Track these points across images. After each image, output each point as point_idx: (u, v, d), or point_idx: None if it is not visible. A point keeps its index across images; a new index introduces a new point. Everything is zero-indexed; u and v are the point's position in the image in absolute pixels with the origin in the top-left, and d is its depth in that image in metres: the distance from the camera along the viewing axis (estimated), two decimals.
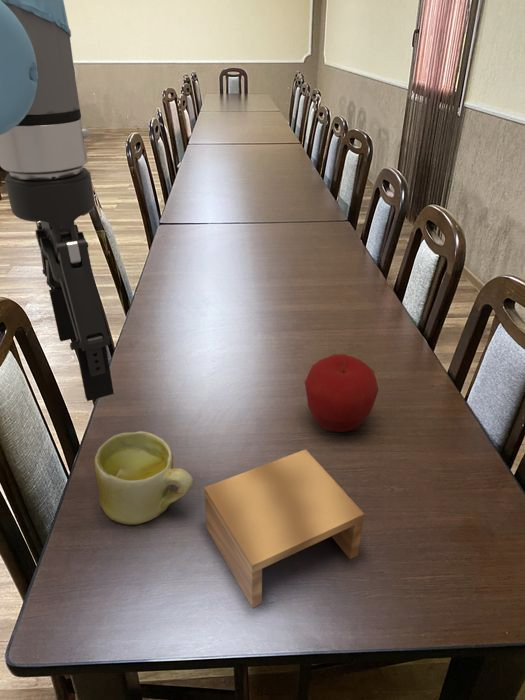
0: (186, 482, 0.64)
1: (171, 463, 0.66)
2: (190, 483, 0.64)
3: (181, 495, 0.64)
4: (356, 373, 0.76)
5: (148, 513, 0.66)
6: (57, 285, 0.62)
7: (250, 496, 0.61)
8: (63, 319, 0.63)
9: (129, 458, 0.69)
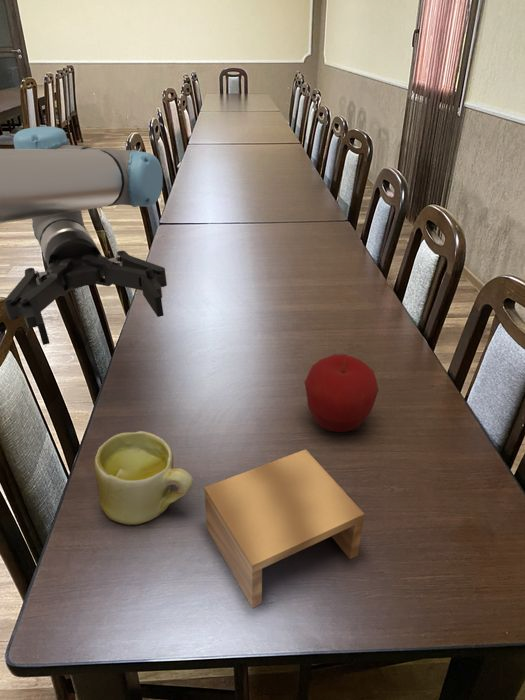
0: (186, 482, 0.64)
1: (171, 463, 0.66)
2: (190, 483, 0.64)
3: (181, 495, 0.64)
4: (356, 373, 0.76)
5: (148, 513, 0.66)
6: None
7: (250, 496, 0.61)
8: None
9: (129, 458, 0.69)
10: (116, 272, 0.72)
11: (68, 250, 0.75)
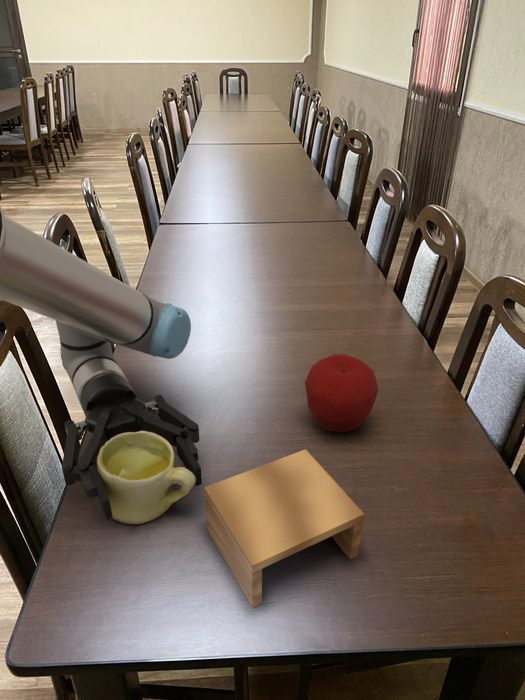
0: (189, 481, 0.64)
1: (173, 462, 0.66)
2: (193, 482, 0.65)
3: (184, 494, 0.64)
4: (356, 373, 0.76)
5: (151, 512, 0.66)
6: (89, 470, 0.65)
7: (250, 496, 0.61)
8: None
9: (131, 458, 0.69)
10: (151, 426, 0.72)
11: (106, 396, 0.75)
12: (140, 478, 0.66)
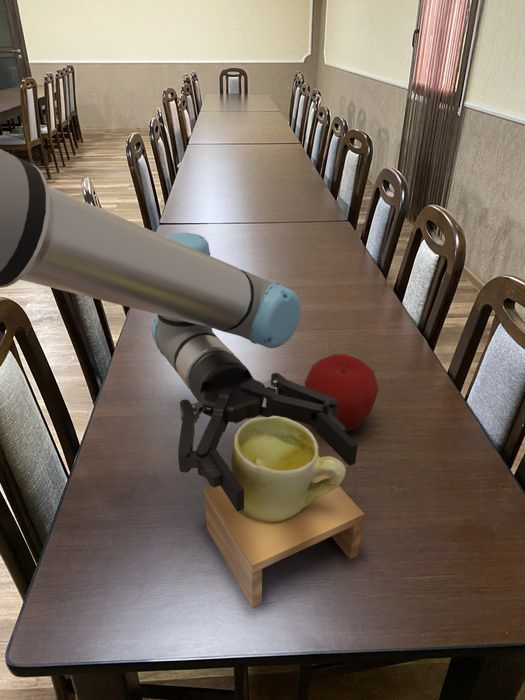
0: (341, 472, 0.56)
1: (318, 451, 0.58)
2: (344, 473, 0.56)
3: (334, 487, 0.56)
4: (356, 373, 0.76)
5: (293, 508, 0.57)
6: None
7: None
8: None
9: (263, 447, 0.60)
10: (283, 405, 0.64)
11: (222, 376, 0.66)
12: (280, 469, 0.57)
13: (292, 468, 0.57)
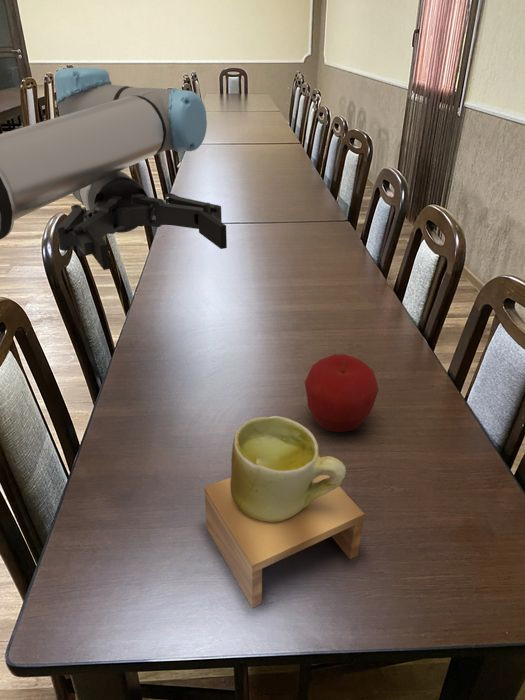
0: (341, 472, 0.56)
1: (318, 451, 0.58)
2: (344, 473, 0.56)
3: (334, 487, 0.56)
4: (356, 373, 0.76)
5: (293, 508, 0.57)
6: None
7: None
8: None
9: (263, 447, 0.60)
10: (169, 210, 0.68)
11: (115, 189, 0.70)
12: (280, 469, 0.57)
13: (292, 468, 0.57)
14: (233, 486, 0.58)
